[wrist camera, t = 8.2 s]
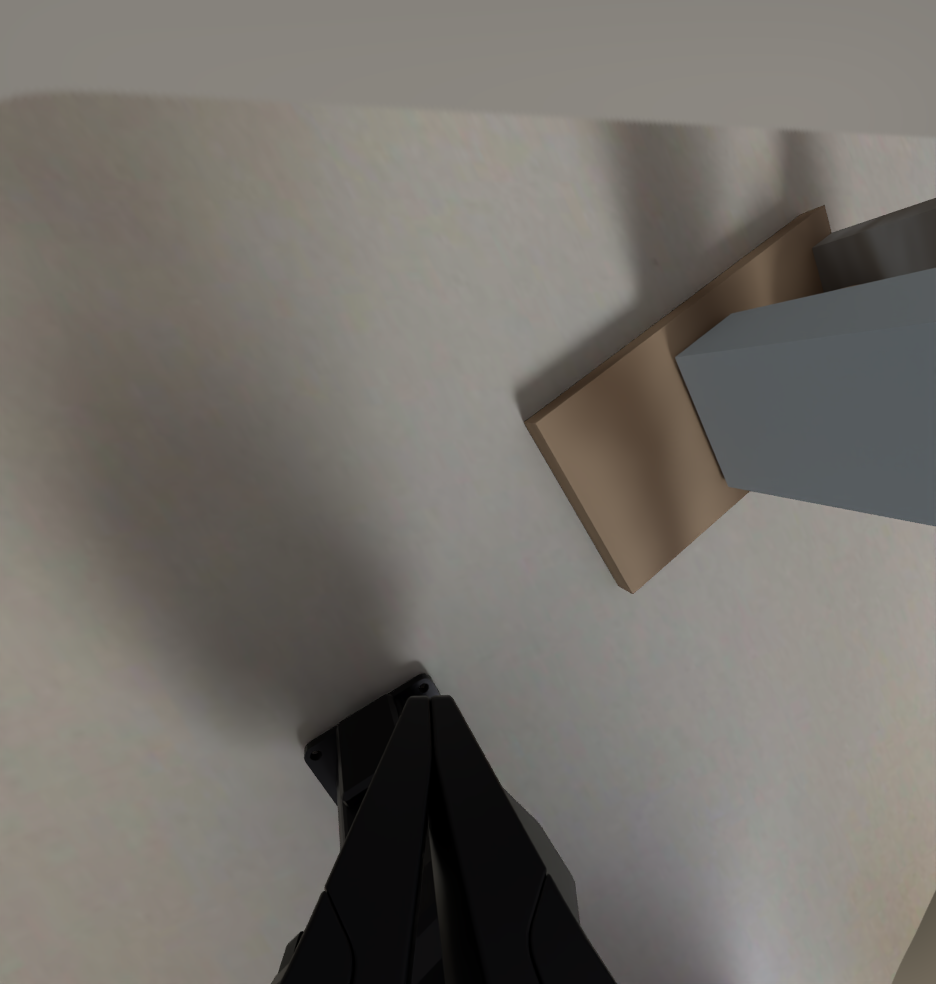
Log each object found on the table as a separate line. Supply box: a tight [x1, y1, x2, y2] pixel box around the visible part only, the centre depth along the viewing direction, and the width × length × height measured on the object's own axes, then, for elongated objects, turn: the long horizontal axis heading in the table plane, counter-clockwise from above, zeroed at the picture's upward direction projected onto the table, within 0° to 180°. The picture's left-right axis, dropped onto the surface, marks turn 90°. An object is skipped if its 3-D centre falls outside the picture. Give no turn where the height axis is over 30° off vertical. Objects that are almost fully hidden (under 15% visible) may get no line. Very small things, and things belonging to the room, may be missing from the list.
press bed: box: [524, 198, 936, 594], centre depth 21 cm, size 20×11×7 cm, turn 124°
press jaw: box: [675, 268, 936, 526], centre depth 16 cm, size 4×8×15 cm, turn 34°
